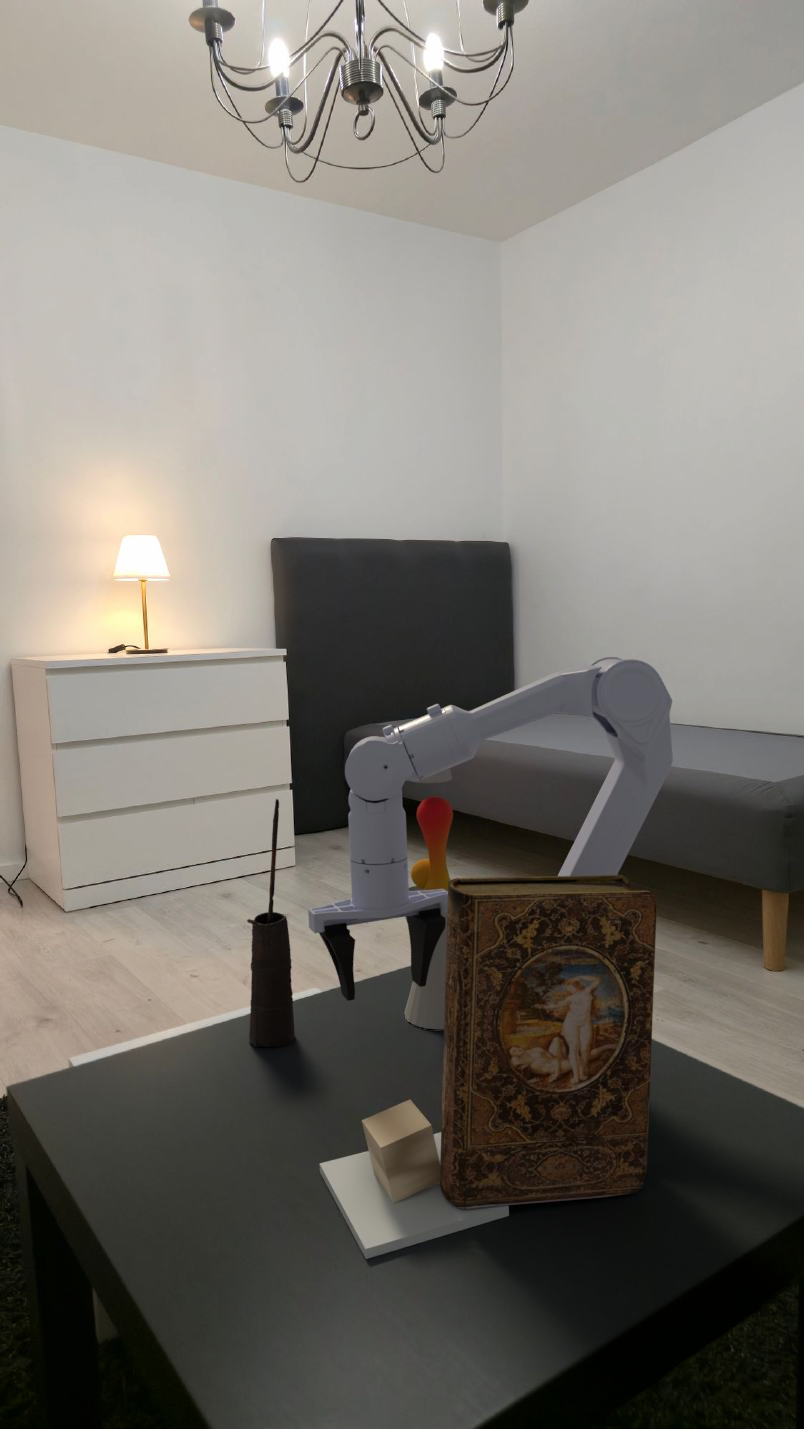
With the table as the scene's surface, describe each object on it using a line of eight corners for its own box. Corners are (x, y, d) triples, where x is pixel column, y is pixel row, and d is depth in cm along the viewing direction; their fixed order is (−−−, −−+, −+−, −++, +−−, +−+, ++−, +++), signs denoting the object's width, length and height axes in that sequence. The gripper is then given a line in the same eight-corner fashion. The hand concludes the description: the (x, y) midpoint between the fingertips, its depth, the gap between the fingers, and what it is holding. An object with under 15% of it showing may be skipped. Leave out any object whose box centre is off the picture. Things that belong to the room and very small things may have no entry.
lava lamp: (492, 1012, 110) (483, 725, 107) (443, 1038, 104) (432, 733, 100) (436, 993, 116) (427, 722, 113) (386, 1017, 110) (375, 729, 107)
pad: (446, 1139, 83) (445, 1131, 83) (509, 1215, 72) (508, 1206, 72) (319, 1172, 78) (319, 1163, 78) (365, 1259, 67) (365, 1249, 67)
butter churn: (239, 1069, 98) (225, 813, 95) (214, 1036, 106) (200, 800, 104) (318, 1049, 102) (306, 803, 99) (288, 1018, 110) (277, 791, 108)
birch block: (421, 1151, 78) (410, 1099, 77) (443, 1179, 74) (431, 1125, 73) (374, 1173, 77) (361, 1120, 76) (393, 1203, 73) (380, 1147, 72)
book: (448, 1210, 71) (457, 895, 69) (434, 1171, 76) (442, 878, 75) (645, 1194, 74) (658, 891, 72) (618, 1157, 79) (629, 874, 77)
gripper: (429, 841, 97) (433, 964, 98) (297, 858, 91) (304, 988, 93) (457, 855, 90) (462, 987, 91) (317, 874, 85) (323, 1014, 86)
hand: (384, 989), depth 92 cm, fingers open, 7 cm apart
